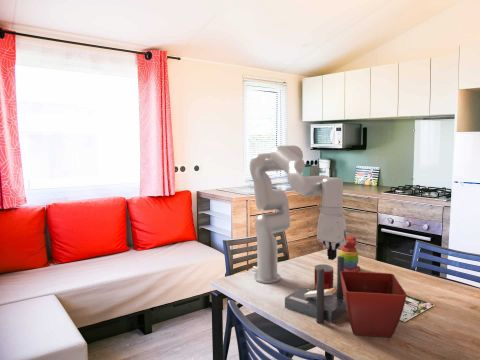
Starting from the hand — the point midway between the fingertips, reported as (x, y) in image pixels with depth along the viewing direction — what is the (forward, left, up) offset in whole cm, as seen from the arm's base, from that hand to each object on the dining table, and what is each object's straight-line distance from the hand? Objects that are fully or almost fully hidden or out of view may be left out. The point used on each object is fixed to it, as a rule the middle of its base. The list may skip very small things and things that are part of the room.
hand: (331, 258), depth 139 cm
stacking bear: (-14, +48, -22) cm, 55 cm away
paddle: (-5, 0, -15) cm, 16 cm away
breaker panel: (-7, 0, -22) cm, 23 cm away
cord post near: (0, -8, -22) cm, 23 cm away
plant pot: (+15, -1, -22) cm, 27 cm away
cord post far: (0, +9, -22) cm, 23 cm away
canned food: (-12, +17, -22) cm, 30 cm away
